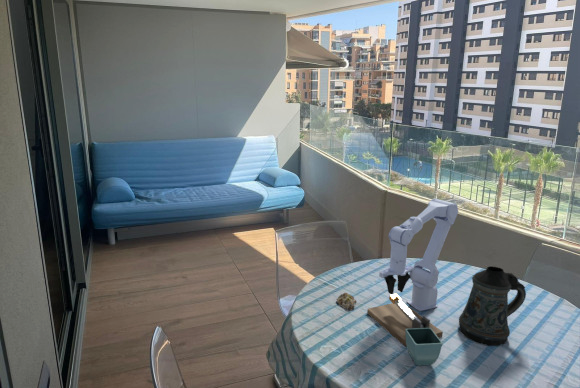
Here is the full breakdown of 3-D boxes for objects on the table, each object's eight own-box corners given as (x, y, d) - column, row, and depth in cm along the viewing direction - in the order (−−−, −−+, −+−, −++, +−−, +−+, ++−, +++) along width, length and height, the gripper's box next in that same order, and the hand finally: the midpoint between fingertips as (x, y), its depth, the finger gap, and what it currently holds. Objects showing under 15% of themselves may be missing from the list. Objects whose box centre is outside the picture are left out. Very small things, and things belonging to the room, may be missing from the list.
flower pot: (402, 352, 130) (404, 328, 128) (428, 351, 131) (430, 327, 128) (412, 370, 121) (415, 344, 119) (440, 369, 122) (443, 343, 120)
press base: (400, 305, 159) (402, 290, 158) (442, 336, 139) (444, 319, 137) (367, 313, 153) (368, 297, 152) (405, 346, 133) (407, 328, 131)
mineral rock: (333, 293, 165) (351, 287, 165) (335, 301, 166) (353, 296, 166) (339, 307, 154) (358, 301, 155) (341, 316, 156) (361, 310, 156)
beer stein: (447, 325, 146) (455, 263, 140) (485, 315, 153) (494, 255, 147) (485, 351, 131) (495, 282, 125) (525, 338, 138) (536, 273, 133)
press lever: (395, 297, 151) (396, 293, 151) (425, 329, 137) (426, 325, 136) (388, 298, 150) (389, 295, 150) (418, 331, 136) (419, 327, 135)
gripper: (388, 265, 139) (385, 300, 142) (421, 259, 145) (417, 293, 148) (377, 258, 145) (374, 291, 149) (408, 253, 151) (405, 285, 154)
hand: (395, 292), depth 149 cm, fingers open, 4 cm apart
